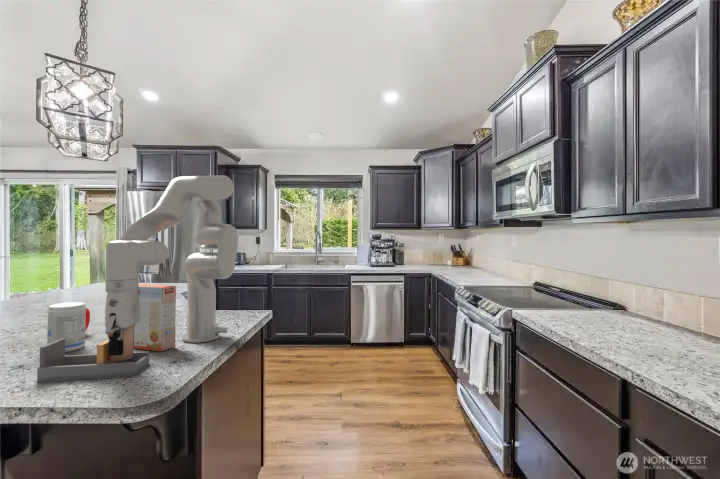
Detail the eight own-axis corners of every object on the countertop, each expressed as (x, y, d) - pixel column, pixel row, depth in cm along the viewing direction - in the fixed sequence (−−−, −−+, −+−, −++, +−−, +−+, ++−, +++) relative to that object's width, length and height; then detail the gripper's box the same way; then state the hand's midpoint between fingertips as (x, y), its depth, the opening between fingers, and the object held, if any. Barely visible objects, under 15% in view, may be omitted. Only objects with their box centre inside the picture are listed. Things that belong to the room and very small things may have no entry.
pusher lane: (149, 363, 100) (149, 334, 100) (133, 376, 90) (134, 343, 90) (62, 368, 95) (63, 337, 95) (37, 382, 86) (37, 348, 86)
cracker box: (176, 347, 115) (177, 285, 115) (160, 352, 109) (161, 287, 110) (145, 343, 120) (146, 283, 120) (129, 348, 114) (129, 285, 114)
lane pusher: (116, 362, 97) (116, 337, 97) (103, 371, 90) (103, 344, 90) (110, 362, 96) (111, 337, 97) (96, 371, 90) (96, 345, 90)
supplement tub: (44, 349, 112) (45, 304, 112) (81, 343, 119) (82, 300, 119) (50, 355, 106) (50, 308, 106) (88, 348, 113) (89, 304, 113)
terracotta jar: (137, 353, 97) (138, 318, 97) (128, 361, 92) (128, 323, 92) (115, 355, 96) (115, 319, 96) (103, 362, 91) (104, 323, 91)
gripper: (122, 289, 86) (121, 361, 86) (150, 281, 103) (149, 341, 103) (88, 290, 85) (88, 363, 85) (122, 282, 102) (121, 342, 102)
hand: (121, 350), depth 94 cm, fingers closed on terracotta jar, 5 cm apart
